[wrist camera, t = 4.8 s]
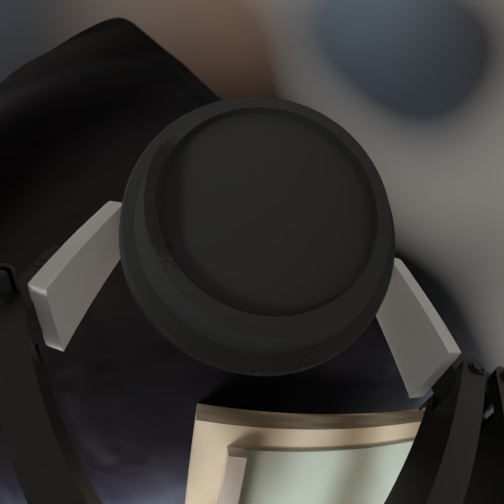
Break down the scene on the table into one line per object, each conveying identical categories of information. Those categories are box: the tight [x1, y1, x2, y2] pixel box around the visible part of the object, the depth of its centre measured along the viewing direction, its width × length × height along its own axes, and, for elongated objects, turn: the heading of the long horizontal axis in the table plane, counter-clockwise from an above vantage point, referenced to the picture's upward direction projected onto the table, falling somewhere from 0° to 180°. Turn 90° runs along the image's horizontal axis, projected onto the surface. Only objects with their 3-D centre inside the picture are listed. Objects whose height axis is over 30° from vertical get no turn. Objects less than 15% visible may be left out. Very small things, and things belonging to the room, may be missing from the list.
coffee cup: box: [119, 97, 395, 376], centre depth 14 cm, size 9×9×15 cm
